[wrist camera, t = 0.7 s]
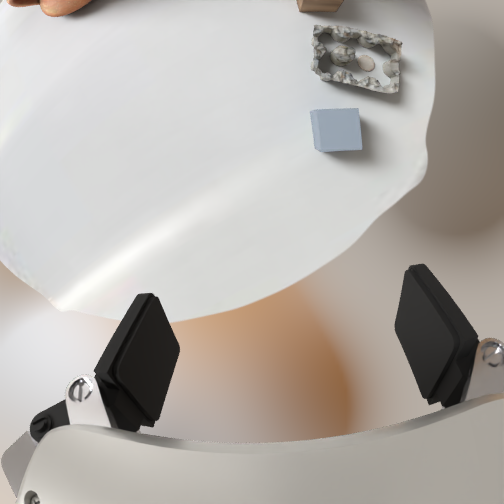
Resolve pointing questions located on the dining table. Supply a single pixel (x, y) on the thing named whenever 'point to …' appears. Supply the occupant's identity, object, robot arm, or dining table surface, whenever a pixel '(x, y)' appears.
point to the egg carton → (366, 63)
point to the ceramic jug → (52, 5)
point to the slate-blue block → (336, 129)
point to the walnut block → (319, 5)
